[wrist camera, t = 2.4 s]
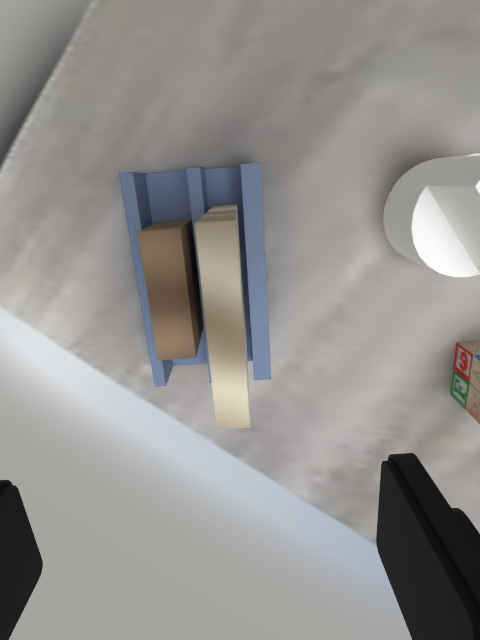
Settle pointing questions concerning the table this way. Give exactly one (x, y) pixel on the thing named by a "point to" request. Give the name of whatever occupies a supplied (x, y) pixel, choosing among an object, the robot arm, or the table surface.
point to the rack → (191, 204)
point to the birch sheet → (224, 314)
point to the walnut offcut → (172, 288)
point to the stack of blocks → (467, 377)
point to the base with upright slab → (438, 215)
